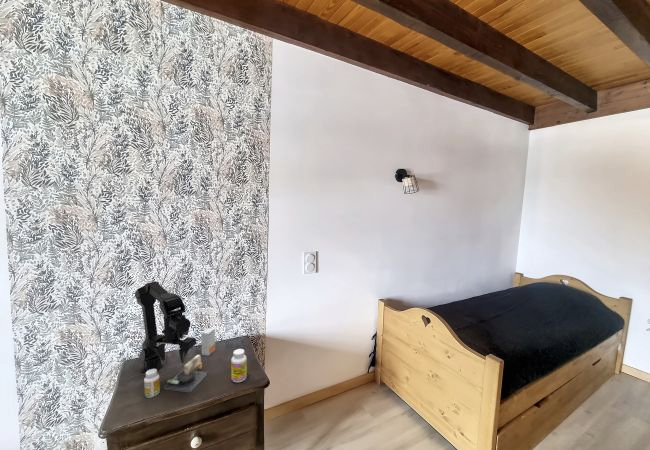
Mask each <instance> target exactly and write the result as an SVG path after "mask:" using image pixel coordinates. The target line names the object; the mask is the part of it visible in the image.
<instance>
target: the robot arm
mask: <svg viewBox="0 0 650 450" xmlns="http://www.w3.org/2000/svg"><path fill="white" fill-rule="evenodd" d="M134 298H135V299H136V304H137V303H138V305H139V306H140V307H141V309H142V310H141V311H142V318H143V326H144V335H145V338H144V341H143V343H142V349H141V351H140V353H139V359H140V360H141V361H142V362H143V369H142V370H141V373H144V374H146V372H147V371H148V370H150V369H157V371H159V369H161V368H163V366H164V364H162V362H163V361H165V359H166V345H177V346H178V347H179V349H178V352H179V356H180V361H181V363H182V364H183V363H185V361H186V358H187V355H188V353H189V350H190V349H192V348H193V347H194V346H195V345H197V338H195V337H190V336H188V335H189V332H190V327H191V325H192V324H191V321H190V319H189V318H187V317H186V315H185V313H186V310H187V309H186V305H185V303H184V301H183V299H182V297H181V296H180V295H178V294H176V293H171V292H168V290H166V289H165V288H164V287H163V286H162V285H161V284H160V282H159V281H155V280H154V281H151V282H146V283H145V284H144V285H143V286H141V287H139V288H138V289H136V291H135V292H134ZM157 301H158V303H159V304H158V305H159V309H160V311H161V313H162V315H163V330H161V334H158V329H157V328H158V327H157V320H156V315H155V303H156V302H157ZM184 336H187V337H186V338H184ZM183 338H184V339H183Z"/></svg>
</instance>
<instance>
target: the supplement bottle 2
mask: <svg viewBox="0 0 650 450" xmlns="http://www.w3.org/2000/svg"><path fill="white" fill-rule="evenodd" d="M232 353H233V356H232V357H231V359H230V362H231V363H230V364H231V365H230V366H231V368H230V370H231V375H230V377H231V378H230V379H231V381H232V382H233V383H239V384H240V383H242V382H244V381H245V380H246V379H247V376H248V375H247V373H248V370H247V369H248V367H247V366H248V365H247V363H248V360H247V355H245V349H243V348H237V349H235V350H234V351H233V352H232Z"/></svg>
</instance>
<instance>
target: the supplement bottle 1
mask: <svg viewBox="0 0 650 450" xmlns="http://www.w3.org/2000/svg"><path fill="white" fill-rule="evenodd" d="M160 381H161V380H160V375H159V373H158V370H157V369H150V370H148V371H147V372H146V373H145V377H144V379H143V382H144V383H143V384H144V385H143V387H144V397H146V398H149V399H151V398H155V397H156V396H157V395H159V393H160V392H161V388H160V387H161V386H160V385H161V383H160Z"/></svg>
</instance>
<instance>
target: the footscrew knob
mask: <svg viewBox="0 0 650 450" xmlns="http://www.w3.org/2000/svg"><path fill="white" fill-rule="evenodd" d="M201 355H202V354H196V355H195V356H194V357H192V359H190V360H189V361H188V362H186V364H184V365H183V366H184V367H183V369H184V371H182V370H181V371H182V372H181V371H180V373H179V372H178V373H179V374H178V373H177V374H178V375H177V374H176V375H177V381H180V383H181V384H185V383H188V382H191V381H192V380H193V379H194V378H195V371H196V370H195V369H196V368H198V365H199V364H200V363H201V361H202V357H201Z"/></svg>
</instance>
